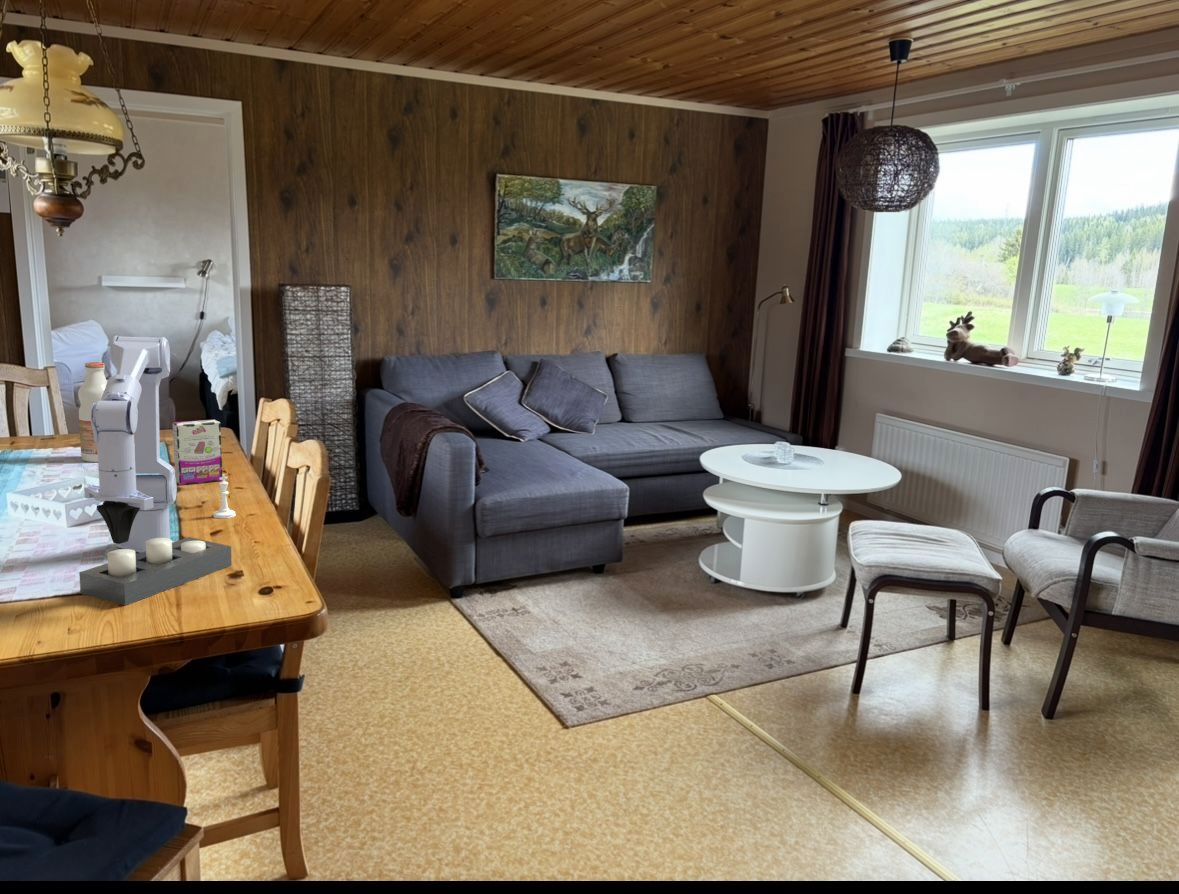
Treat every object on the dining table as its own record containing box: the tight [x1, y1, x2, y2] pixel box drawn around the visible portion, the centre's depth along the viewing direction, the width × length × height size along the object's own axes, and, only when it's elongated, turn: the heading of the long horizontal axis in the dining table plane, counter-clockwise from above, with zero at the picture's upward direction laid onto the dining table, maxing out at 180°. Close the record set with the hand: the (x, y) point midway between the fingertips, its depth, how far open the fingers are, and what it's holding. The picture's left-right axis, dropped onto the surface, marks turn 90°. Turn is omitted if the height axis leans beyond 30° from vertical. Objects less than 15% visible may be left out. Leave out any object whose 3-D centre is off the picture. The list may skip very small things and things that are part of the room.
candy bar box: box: [172, 419, 223, 486], centre depth 232 cm, size 11×5×16 cm, turn 129°
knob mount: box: [78, 536, 232, 606], centre depth 163 cm, size 11×24×4 cm, turn 158°
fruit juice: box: [77, 361, 108, 463], centre depth 248 cm, size 9×9×28 cm
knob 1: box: [107, 548, 136, 578], centre depth 155 cm, size 4×4×4 cm
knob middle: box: [146, 538, 173, 565], centre depth 162 cm, size 4×4×4 cm
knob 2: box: [181, 541, 206, 553], centre depth 170 cm, size 4×4×4 cm
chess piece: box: [213, 473, 237, 520], centre depth 204 cm, size 5×5×10 cm
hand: (120, 542), depth 154 cm, fingers closed
